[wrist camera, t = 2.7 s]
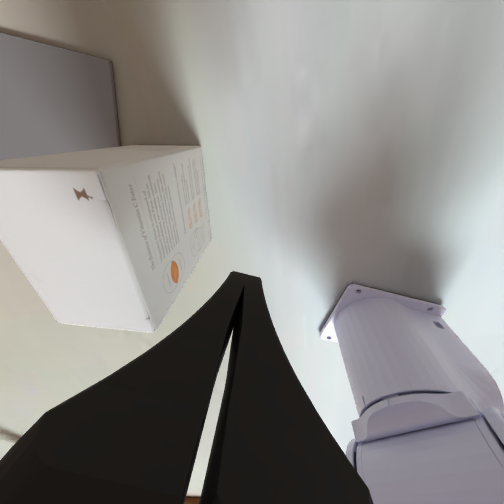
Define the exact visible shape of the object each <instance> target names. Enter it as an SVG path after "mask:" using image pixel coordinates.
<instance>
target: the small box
mask: <svg viewBox="0 0 504 504" xmlns="http://www.w3.org/2000/svg"><path fill="white" fill-rule="evenodd" d="M0 240H1V242H2V243H3V244H4V246H5V247H6V249H7V250H8V252H9V253H10V255H11V256H12V257H13V259H14V260H15V262H16V263H17V265H18V266H19V268H20V269H21V270H22V272H23V273H24V275H25V276H26V278H27V279H28V281H29V282H30V283H31V285H32V286H33V288H34V289H35V291H36V292H37V294H38V295H39V296H40V298H41V299H42V301H43V302H44V304H45V305H46V307H47V308H48V309H49V311H50V312H51V314H52V315H53V317H54V318H55V320H56V321H57V322H58V323H63V324H70V325H79V326H89V327H98V328H108V329H118V330H128V331H138V332H148V333H154V332H156V331H157V330H158V328H159V327H160V325H161V323H162V322H163V320H164V318H165V317H166V315H167V313H168V312H169V310H170V308H171V307H172V305H173V303H174V302H175V300H176V298H177V297H178V295H179V293H180V292H181V290H182V288H183V287H184V285H185V283H186V282H187V280H188V278H189V277H190V275H191V273H192V272H193V270H194V268H195V267H196V265H197V263H198V261H199V260H200V258H201V256H202V255H203V253H204V251H205V250H206V248H207V246H208V245H209V243H210V241H211V232H210V224H209V215H208V206H207V197H206V188H205V180H204V172H203V163H202V154H201V147H200V146H178V145H128V146H120V147H111V148H103V149H94V150H86V151H77V152H69V153H61V154H52V155H44V156H35V157H26V158H17V159H8V160H0Z"/></svg>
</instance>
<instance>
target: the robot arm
mask: <svg viewBox="0 0 504 504" xmlns="http://www.w3.org/2000/svg"><path fill="white" fill-rule="evenodd" d="M358 289H360V290H359V291H356V290H358ZM445 312H446V309H445V308H444V307H443V306H442V305H438V304H434V303H430V302H426V301H422V300H418V299H414V298H410V297H406V296H402V295H398V294H393V293H389V292H385V291H381V290H377V289H373V288H369V287H365V286H361V285H357V284H350V285H349V286H348V287H347V288H346V290H345V292H344V293H343V295H342V297H341V298H340V300H339V302H338V303H337V305H336V307H335V308H334V310H333V312H332V313H331V315H330V317H329V318H328V320H327V322H326V323H325V325H324V327H323V328H322V330H321V332H320V338H321V339H324V340H328V341H332V342H337V343H339V347H340V350H341V354H342V357H343V361H344V364H345V368H346V372H347V375H348V379H349V382H350V386H351V389H352V393H353V397H354V400H355V404H356V407H357V411H358V414H359V419H357V420H354V421H352V422H351V423H352V427H353V431H354V435H355V439H352V440H351V441H350V442H349V444H348V446H347V450H346V455H345V454H344V452H343V451H342V449H341V448H340V446H339V445H338V443H337V442H336V440H335V439H334V438H333V436H332V434H331V433H330V431H329V430H328V428H327V427H326V425H325V423H324V422H323V420H322V419H321V417H320V416H319V414H318V412H317V411H316V409H315V407H314V406H313V404H312V402H311V400H310V399H309V397H308V395H307V394H306V392H305V390H304V388H303V387H302V385H301V383H300V381H299V380H298V378H297V376H296V374H295V372H294V370H293V368H292V366H291V364H290V362H289V360H288V358H287V356H286V354H285V352H284V350H283V348H282V345H281V343H280V341H279V338H278V336H277V333H276V331H275V328H274V326H273V323H272V320H271V317H270V314H269V311H268V308H267V304H266V301H265V297H264V292H263V288H262V280H261V279H260V278H259V277H255V276H251V275H247V274H243V273H239V272H235V271H233V272H231V273H230V274H229V276H228V278H227V279H226V280H225V282H224V283H223V284H222V285H221V287H220V288H219V289H218V290H217V291H216V292H215V294H214V295H213V296H212V297H211V298H210V299H209V300H208V301H207V302H206V303H205V304H204V305H203V306H202V307H201V308H200V309H199V310H198V311H197V312H196V313H195V314H194V315H192V316H191V317H190V318H189V319H188V320H187V321H186V322H184V323H183V324H182V325H181V326H180V327H178V328H177V329H176V330H175V331H174V332H172V333H171V334H170V335H168V336H167V337H166V338H164V339H163V340H162V341H160V342H159V343H158V344H156V345H155V346H153V347H152V348H151V349H149V350H148V351H146V352H145V353H143V354H142V355H140V356H139V357H137V358H136V359H134V360H133V361H131V362H130V363H128V364H126V365H125V366H123V367H122V368H120V369H119V370H117V371H116V372H114V373H113V374H111V375H109V376H108V377H106V378H104V379H103V380H101V381H99V382H98V383H96V384H94V385H92V386H91V387H89V388H87V389H85V390H84V391H82V392H80V393H78V394H77V395H75V396H73V397H71V398H70V399H68V400H66V401H64V402H63V403H61V404H59V405H57V406H56V407H54V408H52V409H50V410H49V411H47V412H46V413H44V414H43V415H42V417H41V418H40V419H39V420H38V421H37V422H36V423H35V424H34V425H33V426H32V427H31V428H30V429H29V430H28V431H27V432H26V433H25V434H24V435H23V436H22V437H21V438H20V439H19V440H18V441H17V442H16V443H15V444H14V445H13V446H12V447H11V449H10V450H9V451H8V452H7V453H6V454H5V456H4V457H3V458H2V459H1V460H0V504H184V502H185V498H186V494H187V490H188V486H189V482H190V478H191V474H192V470H193V466H194V463H195V459H196V455H197V451H198V447H199V443H200V439H201V435H202V431H203V427H204V423H205V419H206V415H207V411H208V407H209V403H210V399H211V395H212V392H213V388H214V384H215V381H216V378H217V374H218V371H219V368H220V365H221V363H222V360H223V357H224V354H225V351H226V348H227V345H228V342H229V339H230V336H231V333H232V330H233V335H232V342H231V349H230V356H229V364H228V371H227V378H226V384H225V390H224V394H223V399H222V403H221V408H220V413H219V417H218V422H217V426H216V431H215V435H214V440H213V444H212V449H211V453H210V458H209V462H208V467H207V471H206V476H205V480H204V485H203V489H202V494H201V498H200V503H199V504H504V404H503V399H502V396H501V393H500V390H499V388H498V386H497V384H496V382H495V380H494V379H493V377H492V376H491V374H490V373H489V372H488V371H487V369H486V368H485V367H484V366H483V365H482V364H481V363H480V361H479V360H478V359H477V358H476V357H475V356H474V355H473V353H472V352H471V351H470V350H469V349H468V348H467V346H466V345H465V344H464V343H463V342H462V341H461V340H460V338H459V337H458V336H457V335H456V334H455V333H454V332H453V330H452V329H451V328H450V327H449V326H448V325H447V324H446V322H445V321H444V320H443V319H442V318H441V316H442V315H443V314H444V313H445Z"/></svg>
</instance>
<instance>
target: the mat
mask: <svg viewBox="0 0 504 504" xmlns="http://www.w3.org/2000/svg"><path fill="white" fill-rule="evenodd" d="M111 147H120V136H119V126H118V117H117V107H116V97H115V88H114V78H113V68H112V61H110V60H106V59H102V58H98V57H95V56H91V55H87V54H83V53H79V52H75V51H71V50H67V49H63V48H59V47H55V46H51V45H47V44H43V43H39V42H35V41H32V40H28V39H24V38H20V37H16V36H12V35H8V34H4V33H0V160H8V159H17V158H26V157H35V156H44V155H52V154H61V153H69V152H77V151H86V150H94V149H103V148H111Z"/></svg>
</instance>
